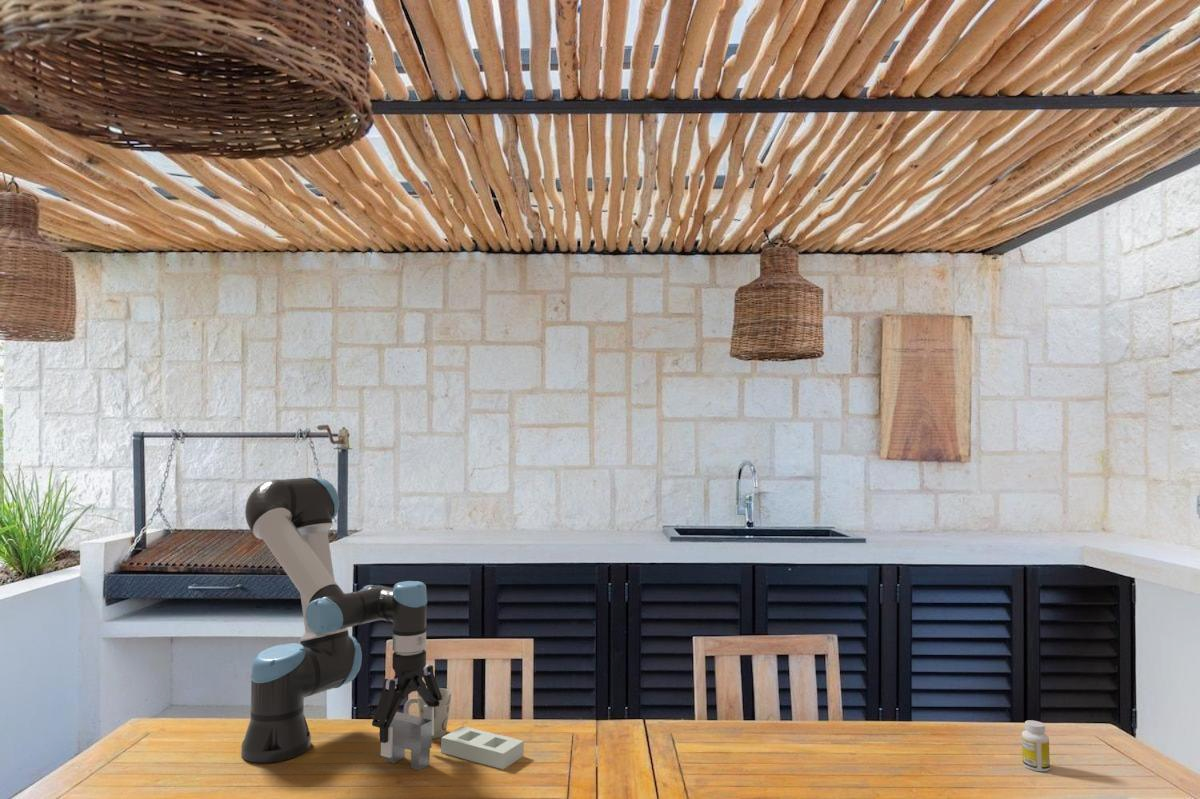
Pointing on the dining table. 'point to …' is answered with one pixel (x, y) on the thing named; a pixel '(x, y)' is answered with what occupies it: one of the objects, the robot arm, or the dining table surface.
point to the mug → (440, 711)
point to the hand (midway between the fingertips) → (408, 745)
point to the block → (482, 747)
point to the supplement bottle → (1035, 746)
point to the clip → (411, 739)
